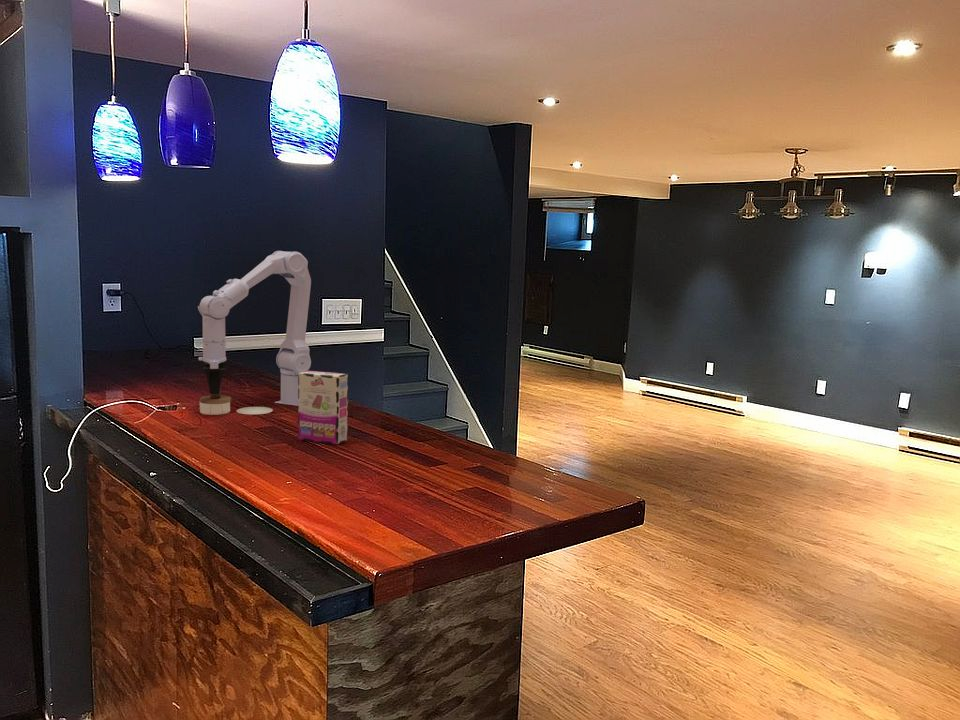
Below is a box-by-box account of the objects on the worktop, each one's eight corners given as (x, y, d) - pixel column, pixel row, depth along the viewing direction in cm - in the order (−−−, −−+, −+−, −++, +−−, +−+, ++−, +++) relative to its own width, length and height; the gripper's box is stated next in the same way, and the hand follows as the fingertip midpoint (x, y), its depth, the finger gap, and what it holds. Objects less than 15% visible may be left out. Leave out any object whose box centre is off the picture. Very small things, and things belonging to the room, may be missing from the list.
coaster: (279, 411, 216) (279, 409, 216) (258, 417, 207) (258, 415, 207) (251, 407, 219) (251, 405, 219) (228, 413, 211) (228, 411, 210)
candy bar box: (348, 440, 187) (349, 373, 185) (337, 445, 183) (338, 376, 180) (308, 435, 191) (308, 369, 189) (296, 439, 187) (297, 372, 184)
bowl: (235, 412, 212) (235, 400, 212) (217, 417, 205) (216, 405, 205) (213, 409, 215) (212, 397, 214) (194, 414, 208) (194, 402, 207)
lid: (237, 400, 212) (237, 381, 211) (217, 405, 205) (217, 385, 204) (213, 397, 215) (213, 378, 214) (193, 402, 207) (192, 382, 207)
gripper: (198, 337, 213) (199, 386, 215) (197, 344, 199) (198, 396, 201) (226, 337, 215) (226, 386, 217) (226, 344, 201) (226, 396, 203)
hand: (214, 391), depth 209 cm, fingers open, 7 cm apart
